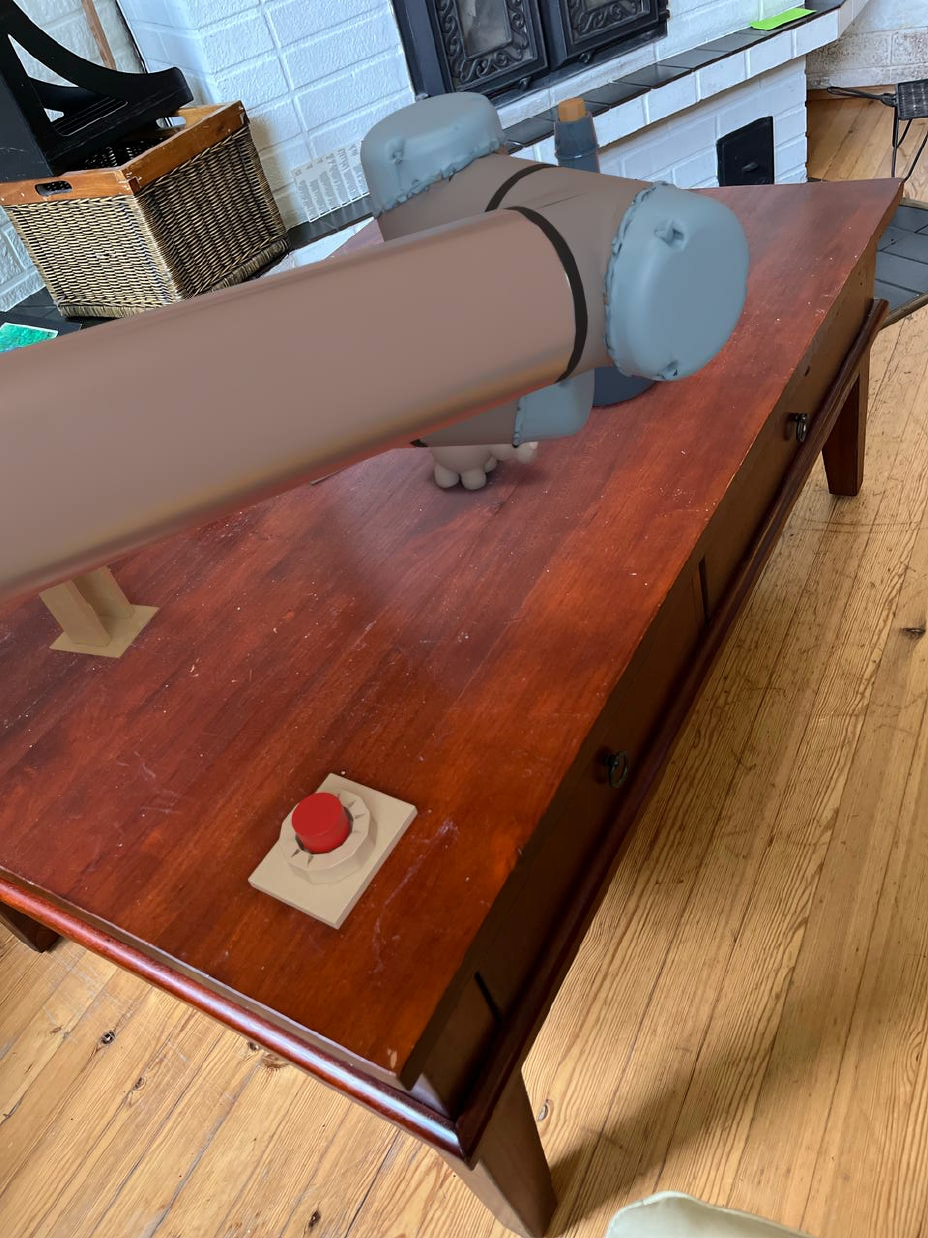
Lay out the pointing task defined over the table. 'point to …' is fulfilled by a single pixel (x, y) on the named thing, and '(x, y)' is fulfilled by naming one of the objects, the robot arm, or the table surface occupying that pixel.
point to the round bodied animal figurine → (476, 462)
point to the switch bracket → (95, 615)
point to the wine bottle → (580, 153)
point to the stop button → (321, 822)
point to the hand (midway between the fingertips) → (102, 416)
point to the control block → (335, 854)
